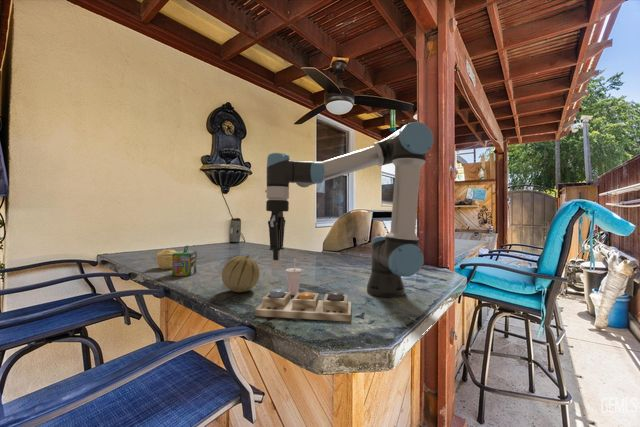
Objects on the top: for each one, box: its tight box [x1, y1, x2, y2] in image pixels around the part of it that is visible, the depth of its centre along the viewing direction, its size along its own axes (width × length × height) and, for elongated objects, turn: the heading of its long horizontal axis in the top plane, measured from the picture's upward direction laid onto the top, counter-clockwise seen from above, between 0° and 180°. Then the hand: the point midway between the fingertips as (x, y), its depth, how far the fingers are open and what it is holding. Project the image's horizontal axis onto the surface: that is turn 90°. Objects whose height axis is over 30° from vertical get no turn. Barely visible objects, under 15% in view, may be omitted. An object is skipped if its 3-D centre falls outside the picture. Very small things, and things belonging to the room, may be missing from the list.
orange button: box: [298, 291, 313, 300], centre depth 90 cm, size 5×5×2 cm
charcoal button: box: [327, 290, 344, 301], centre depth 89 cm, size 5×5×2 cm
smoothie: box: [285, 258, 302, 296], centre depth 108 cm, size 6×6×14 cm
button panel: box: [254, 291, 352, 322], centre depth 89 cm, size 30×12×4 cm, turn 83°
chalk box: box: [171, 245, 198, 277], centre depth 139 cm, size 9×9×15 cm
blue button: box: [269, 288, 285, 298], centre depth 92 cm, size 5×5×2 cm
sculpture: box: [155, 249, 178, 270], centre depth 154 cm, size 11×12×11 cm
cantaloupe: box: [221, 254, 260, 293], centre depth 111 cm, size 15×15×15 cm
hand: (276, 269), depth 92 cm, fingers closed
